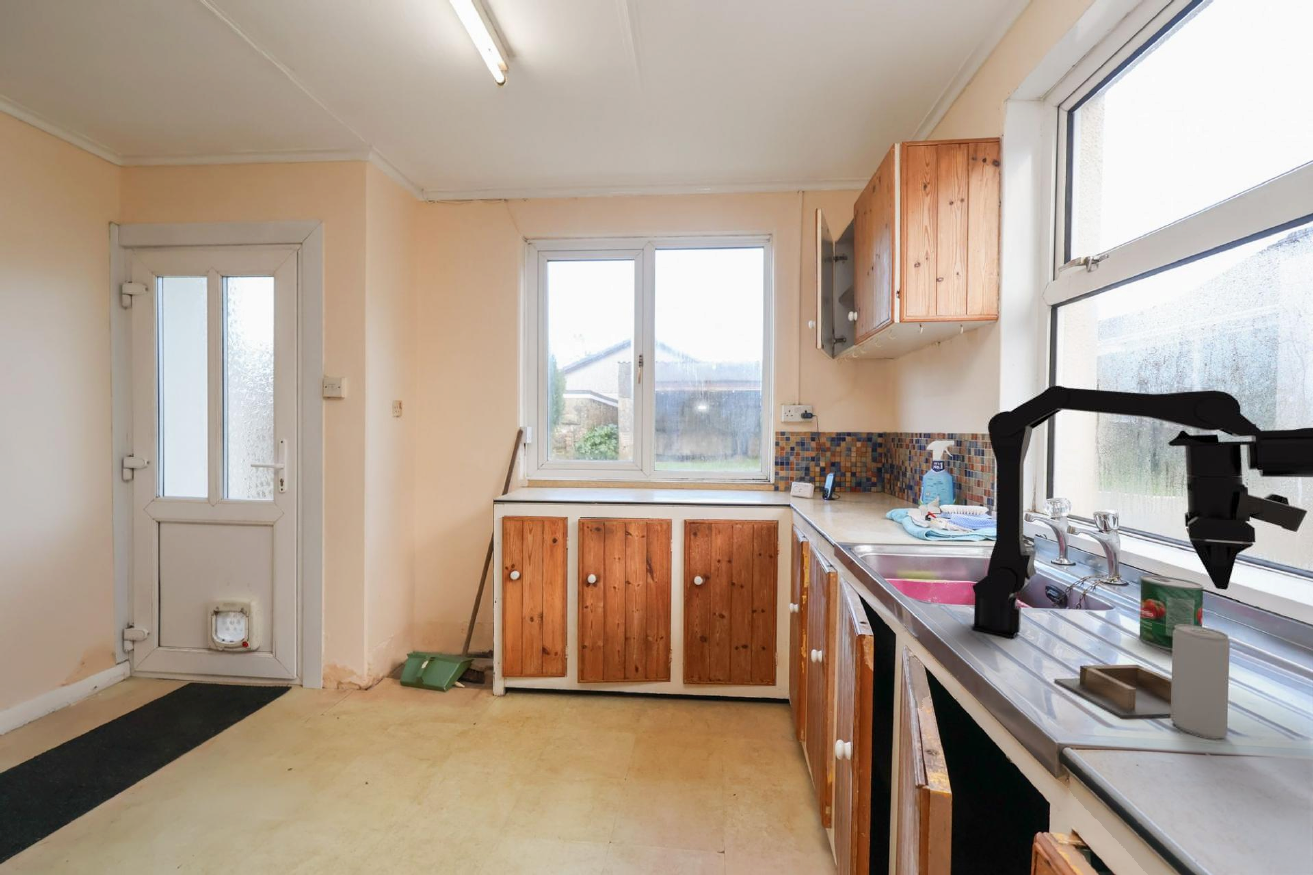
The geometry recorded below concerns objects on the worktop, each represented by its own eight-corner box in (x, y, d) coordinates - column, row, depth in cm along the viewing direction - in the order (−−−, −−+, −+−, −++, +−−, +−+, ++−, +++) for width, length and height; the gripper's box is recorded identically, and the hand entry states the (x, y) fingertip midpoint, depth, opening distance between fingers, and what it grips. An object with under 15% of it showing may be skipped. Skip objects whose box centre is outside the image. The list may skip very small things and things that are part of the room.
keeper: (1054, 681, 77) (1054, 661, 77) (1141, 679, 78) (1142, 659, 78) (1121, 718, 67) (1122, 695, 67) (1220, 715, 68) (1221, 692, 68)
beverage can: (1238, 744, 62) (1242, 640, 62) (1189, 738, 63) (1192, 636, 63) (1205, 722, 67) (1208, 626, 67) (1160, 717, 68) (1163, 622, 67)
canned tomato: (1215, 653, 89) (1217, 587, 89) (1171, 653, 89) (1173, 587, 89) (1167, 635, 97) (1169, 575, 97) (1126, 635, 97) (1128, 574, 97)
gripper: (1312, 480, 67) (1319, 606, 66) (1286, 475, 80) (1292, 580, 80) (1186, 478, 74) (1192, 592, 74) (1182, 474, 88) (1187, 569, 87)
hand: (1219, 583), depth 79 cm, fingers open, 9 cm apart
